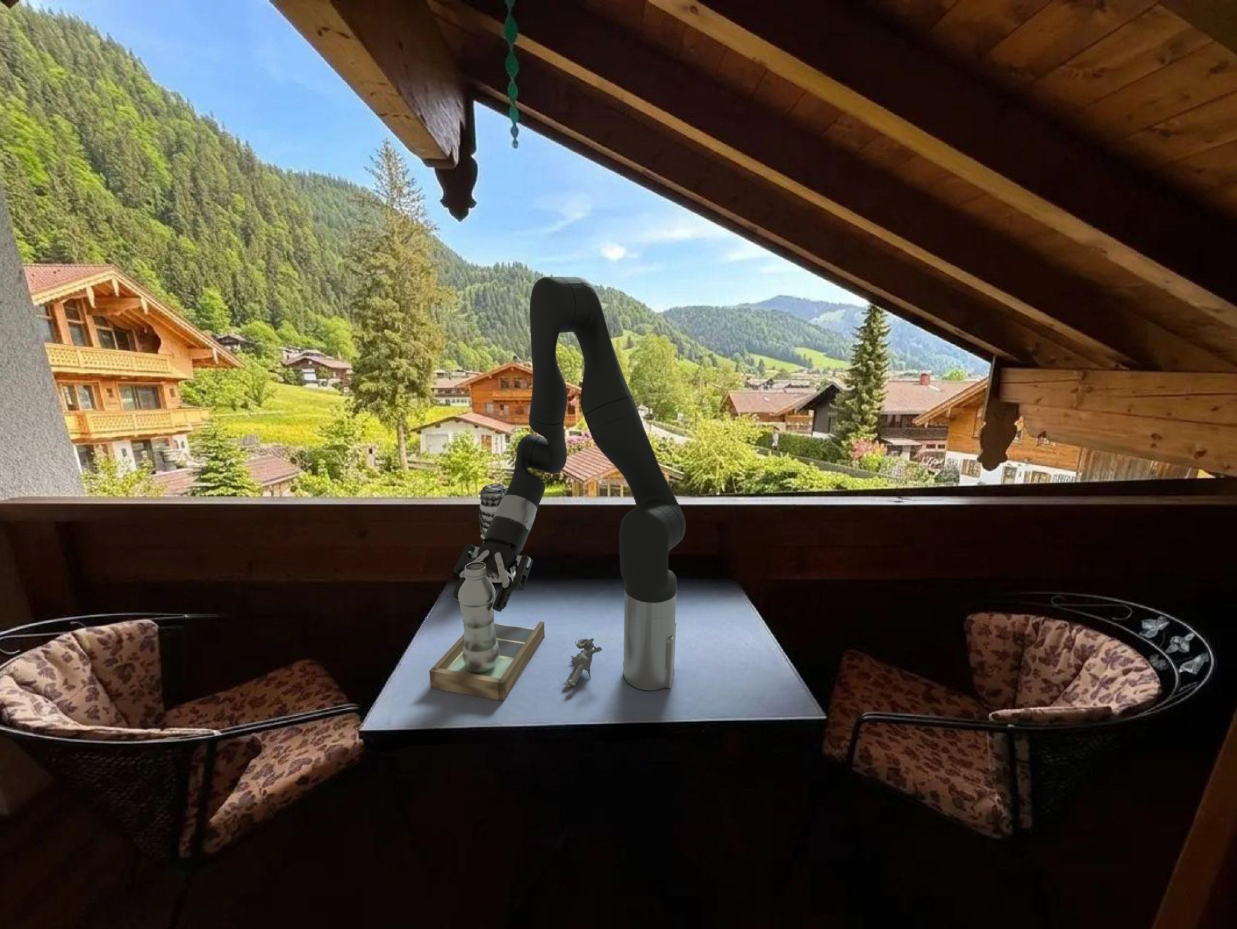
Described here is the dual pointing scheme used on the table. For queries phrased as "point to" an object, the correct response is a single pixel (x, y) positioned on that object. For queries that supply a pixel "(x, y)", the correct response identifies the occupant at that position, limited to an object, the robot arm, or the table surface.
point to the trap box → (502, 677)
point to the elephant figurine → (582, 660)
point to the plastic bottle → (478, 619)
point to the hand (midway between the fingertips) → (476, 605)
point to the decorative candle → (490, 514)
